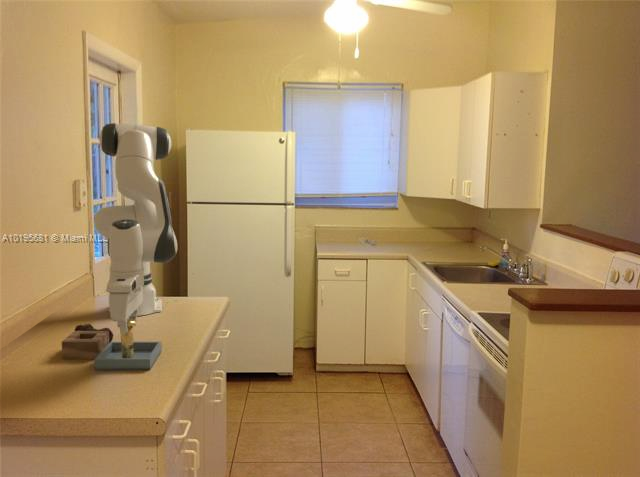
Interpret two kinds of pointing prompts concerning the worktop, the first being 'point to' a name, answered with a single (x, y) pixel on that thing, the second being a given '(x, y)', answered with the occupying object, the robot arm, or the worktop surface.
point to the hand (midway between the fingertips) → (128, 327)
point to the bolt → (90, 328)
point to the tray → (142, 358)
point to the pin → (128, 340)
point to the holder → (84, 344)
